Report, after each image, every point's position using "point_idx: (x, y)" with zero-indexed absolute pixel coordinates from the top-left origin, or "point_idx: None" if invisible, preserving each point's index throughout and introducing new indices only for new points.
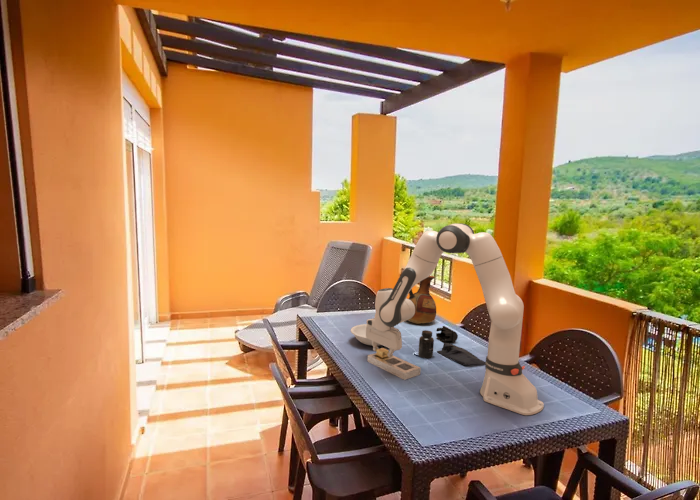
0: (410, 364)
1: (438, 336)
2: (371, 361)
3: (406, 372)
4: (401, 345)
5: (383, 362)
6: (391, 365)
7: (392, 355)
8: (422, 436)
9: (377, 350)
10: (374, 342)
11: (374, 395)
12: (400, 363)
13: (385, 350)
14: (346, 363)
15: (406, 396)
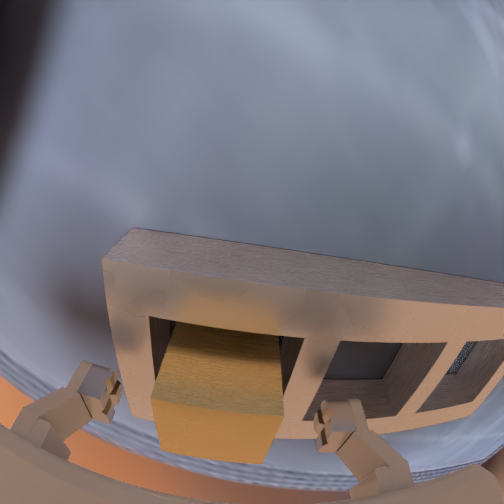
0: (500, 325)
1: None
2: None
3: (477, 406)
4: (496, 496)
5: (316, 436)
6: (387, 427)
7: (363, 412)
8: (485, 453)
9: (178, 448)
10: (64, 451)
11: None
12: (438, 372)
13: (249, 436)
14: (120, 431)
15: (466, 431)
